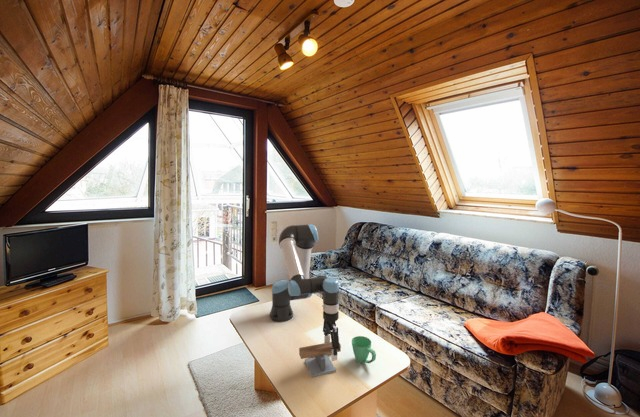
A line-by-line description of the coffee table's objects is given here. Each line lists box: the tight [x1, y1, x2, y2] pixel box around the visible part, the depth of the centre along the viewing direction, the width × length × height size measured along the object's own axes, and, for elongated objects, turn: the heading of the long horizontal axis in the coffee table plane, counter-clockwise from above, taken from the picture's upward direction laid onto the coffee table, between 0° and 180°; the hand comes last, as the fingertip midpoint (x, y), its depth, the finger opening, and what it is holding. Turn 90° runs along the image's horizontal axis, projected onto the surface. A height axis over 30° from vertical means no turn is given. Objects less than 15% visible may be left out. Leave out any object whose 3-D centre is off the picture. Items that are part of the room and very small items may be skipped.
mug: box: [351, 335, 377, 364], centre depth 143 cm, size 15×10×10 cm
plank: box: [298, 341, 342, 360], centre depth 140 cm, size 4×20×4 cm, turn 108°
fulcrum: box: [304, 354, 337, 378], centre depth 140 cm, size 12×12×7 cm
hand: (330, 353), depth 142 cm, fingers open, 10 cm apart
